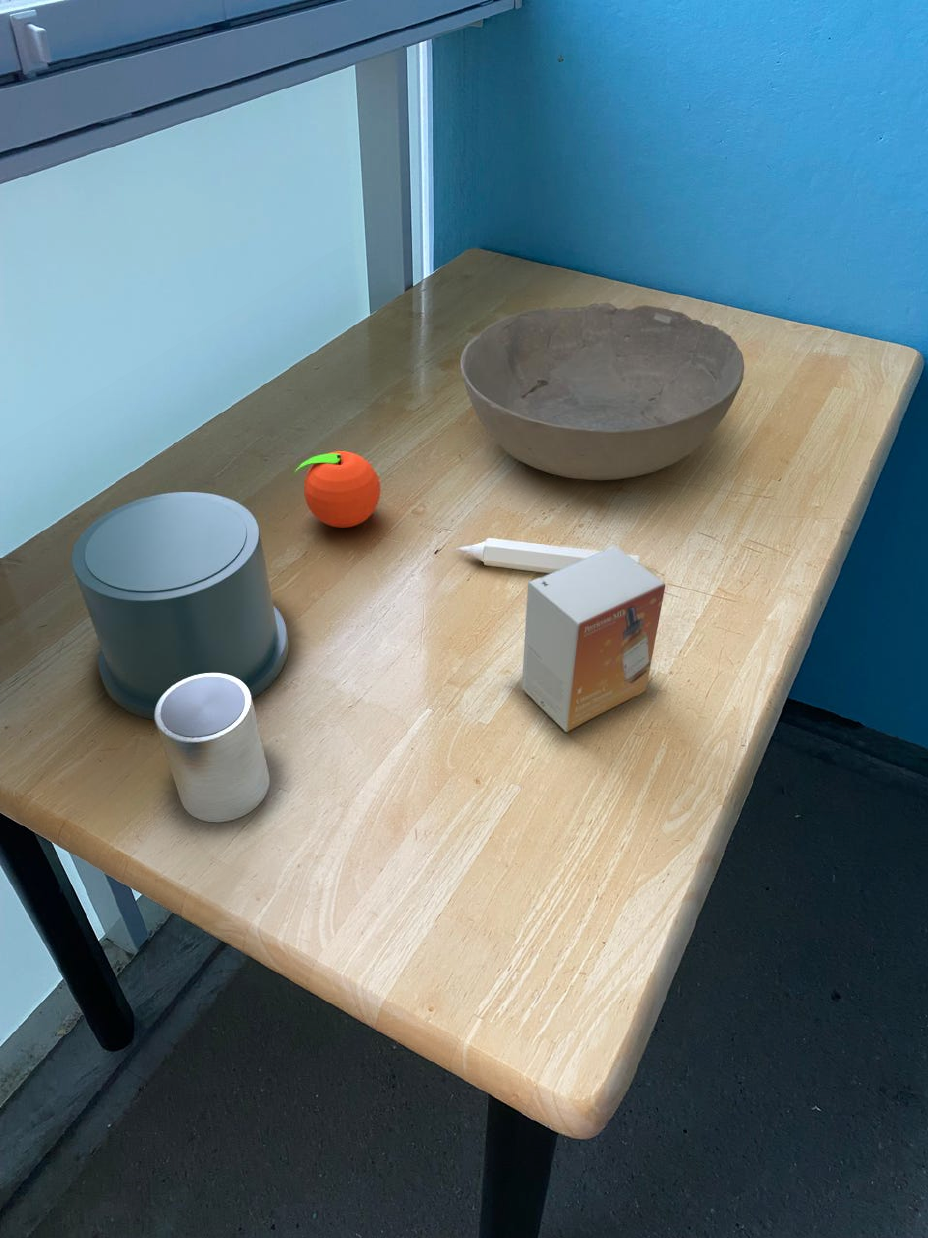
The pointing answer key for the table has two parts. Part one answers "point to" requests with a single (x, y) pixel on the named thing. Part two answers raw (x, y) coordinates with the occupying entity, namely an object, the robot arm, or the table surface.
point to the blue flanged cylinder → (178, 597)
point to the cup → (213, 746)
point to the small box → (590, 636)
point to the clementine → (341, 488)
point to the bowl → (601, 387)
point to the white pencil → (527, 555)
